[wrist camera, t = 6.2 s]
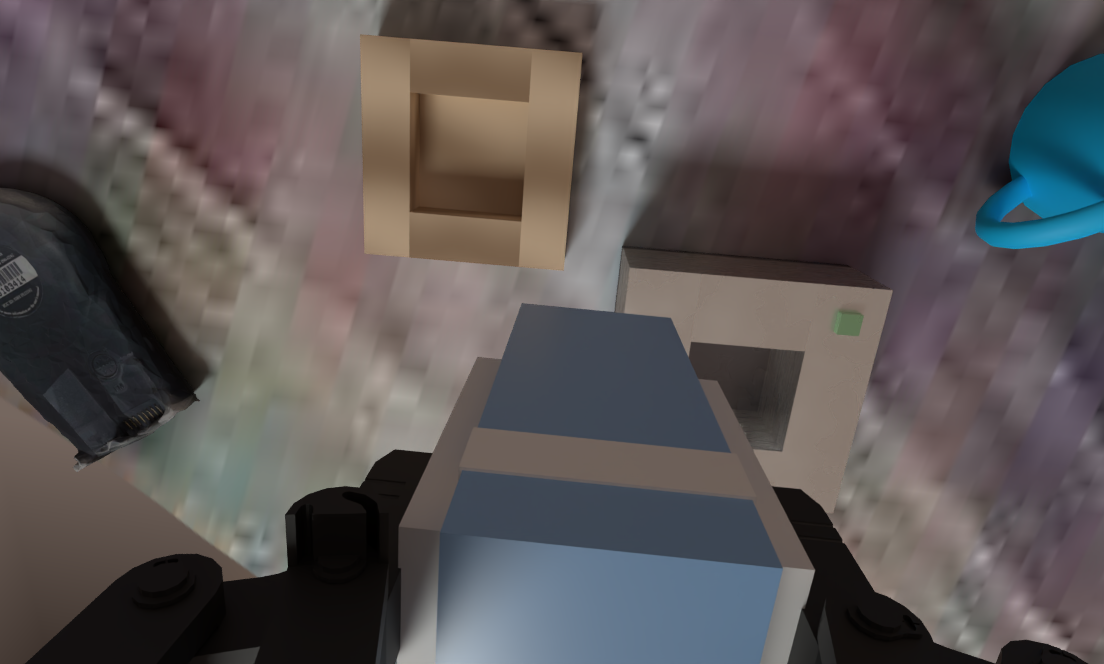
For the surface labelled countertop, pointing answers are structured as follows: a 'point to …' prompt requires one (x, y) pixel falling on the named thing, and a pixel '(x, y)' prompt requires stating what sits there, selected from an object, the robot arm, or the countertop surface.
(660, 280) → the port block
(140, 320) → the electronic device
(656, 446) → the plug
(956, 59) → the countertop surface
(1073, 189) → the mug
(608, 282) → the countertop surface
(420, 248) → the tan flat square frame
